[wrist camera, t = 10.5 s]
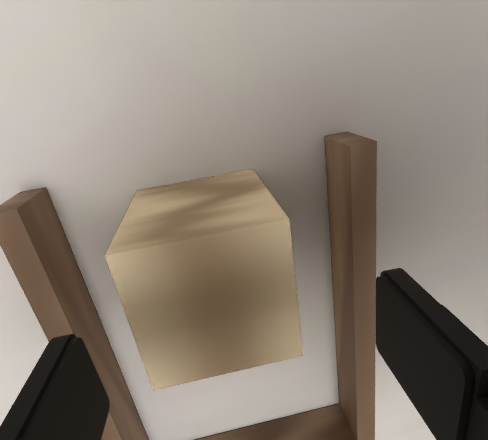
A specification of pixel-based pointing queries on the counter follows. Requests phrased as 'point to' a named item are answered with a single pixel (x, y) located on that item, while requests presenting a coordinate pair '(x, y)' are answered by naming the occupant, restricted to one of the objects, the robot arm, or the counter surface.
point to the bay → (344, 292)
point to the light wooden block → (207, 278)
